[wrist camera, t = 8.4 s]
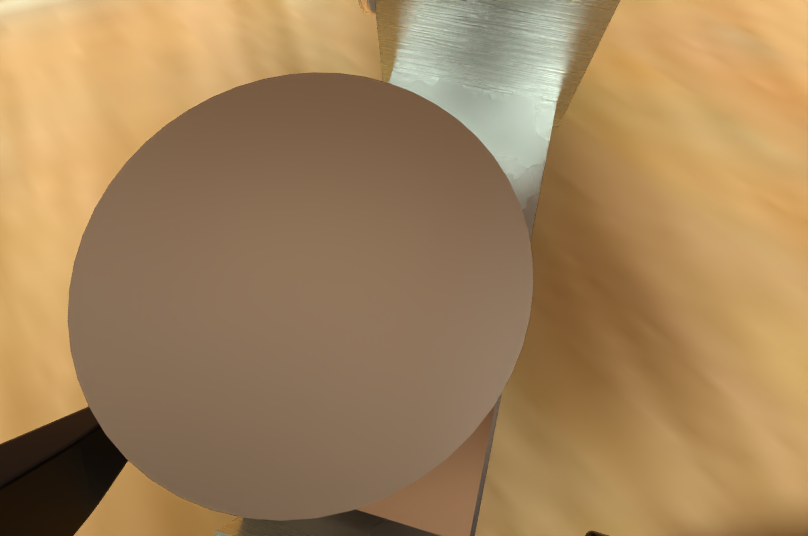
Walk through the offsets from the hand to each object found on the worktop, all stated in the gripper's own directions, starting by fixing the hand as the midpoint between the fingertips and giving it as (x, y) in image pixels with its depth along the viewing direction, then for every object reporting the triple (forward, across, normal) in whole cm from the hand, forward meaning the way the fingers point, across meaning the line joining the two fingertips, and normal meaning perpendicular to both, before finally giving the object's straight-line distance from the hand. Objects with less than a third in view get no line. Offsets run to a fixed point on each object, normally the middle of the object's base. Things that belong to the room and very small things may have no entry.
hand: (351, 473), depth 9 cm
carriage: (+6, 0, +2) cm, 6 cm away
